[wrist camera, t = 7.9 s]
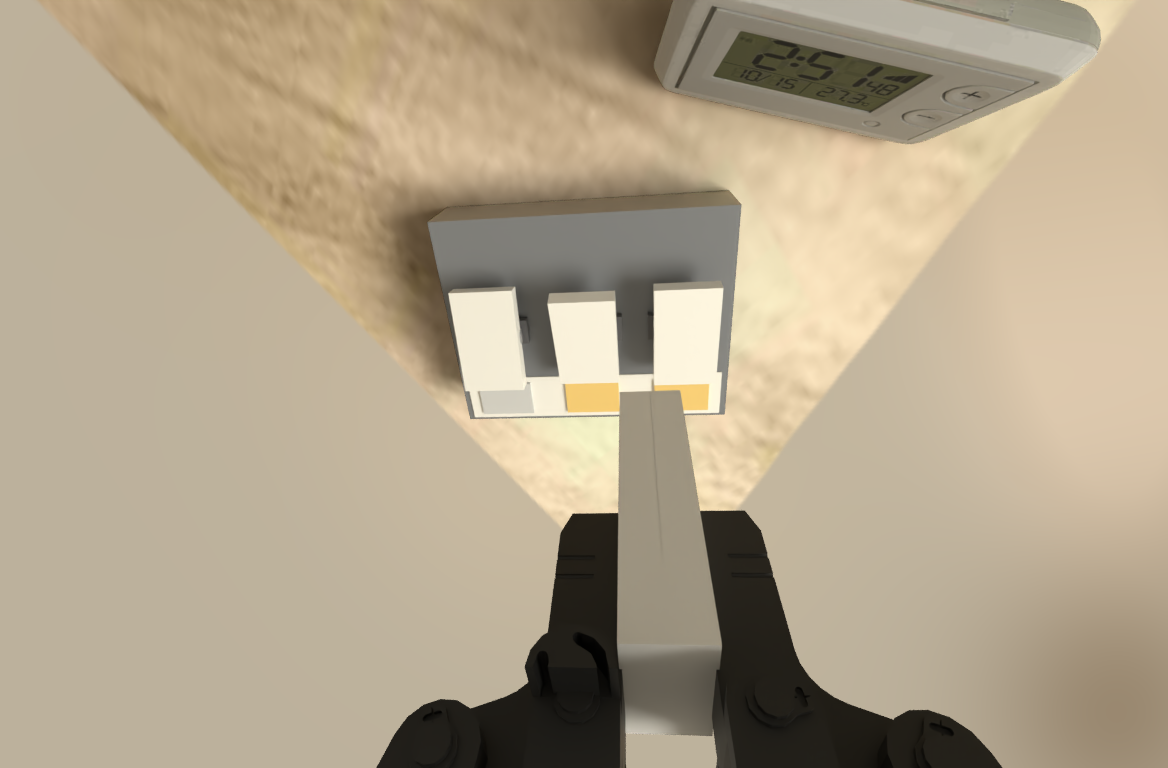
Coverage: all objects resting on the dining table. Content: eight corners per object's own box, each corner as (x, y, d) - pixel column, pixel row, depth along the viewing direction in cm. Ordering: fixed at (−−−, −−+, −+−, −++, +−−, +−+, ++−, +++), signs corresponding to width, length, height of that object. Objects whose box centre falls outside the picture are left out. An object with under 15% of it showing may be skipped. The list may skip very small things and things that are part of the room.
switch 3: (652, 279, 30) (654, 291, 29) (719, 276, 30) (723, 288, 29) (653, 371, 34) (654, 385, 33) (712, 369, 34) (715, 383, 32)
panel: (447, 207, 34) (423, 224, 30) (729, 190, 32) (743, 207, 28) (483, 389, 41) (468, 423, 37) (716, 384, 39) (725, 419, 35)
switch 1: (456, 286, 32) (448, 293, 31) (516, 283, 32) (511, 290, 30) (472, 381, 35) (465, 391, 33) (528, 379, 34) (523, 389, 33)
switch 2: (550, 287, 31) (547, 303, 29) (615, 284, 30) (614, 301, 29) (562, 367, 35) (560, 384, 34) (619, 365, 35) (619, 382, 34)
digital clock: (636, 75, 30) (640, 76, 20) (717, -127, 25) (767, -240, 16) (877, 192, 32) (978, 241, 23) (991, 27, 27) (1173, 5, 18)
